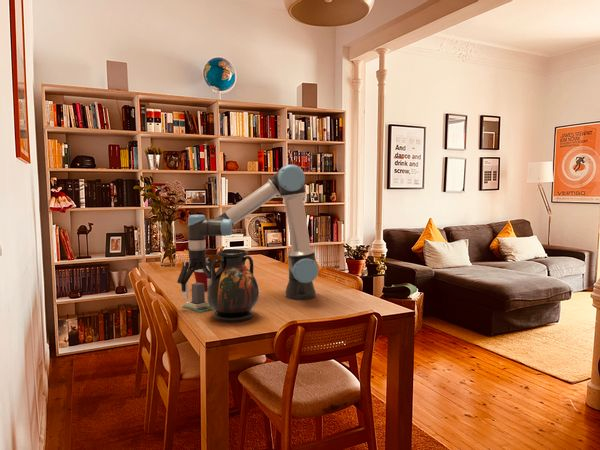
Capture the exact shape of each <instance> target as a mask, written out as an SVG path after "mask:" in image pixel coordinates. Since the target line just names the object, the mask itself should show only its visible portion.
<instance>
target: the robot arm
mask: <svg viewBox="0 0 600 450" xmlns="http://www.w3.org/2000/svg"><path fill="white" fill-rule="evenodd" d="M305 182H306V175H305V172H304V171H303V169H302V168H301V167H300V166H298V165H296V164H287V165H284V166H282V167H281V168H279V170H278V171H277V172H276V173H274V174H273V175H272V176H271V177H270V178H268V180H267V181H266V183H264V184H263V185H262V186H260V187H259V188H257V189H256V190H255V191H253V192H251V193H250V194H249V195H247V196H246V197H245V198H243V199H242V200H240V201H238V202H237V203H236V204H234V205H233V206H232V207H230V208H229V209H227V210H226V211H225V212H223V213H222V214H220V215H218V216H216V218H214V219H211V218H206V216H205V215H204V214H190V215H188V217H187V235H188V237H187V239H188V240H187V241H188V243H187V244H188V249H189V250H188V258H189V261H183V262H182V268H181V271H180V272H179V276H178V278H177V283H178V284H180V286H181V287H180V289H181V292H182V298H183V299H185V300H188V299H189V284H187V283H188V281H189V279H190V278H191V276H192V275H193V274H194V271H195V270H199V269H200V270H201V269H202V270H203V271H204V272H205V274H206V275H207V276H208V277H209V278H208V279H207V286H208V285H209V282H210V279H211V266H212V263H213V262H212V258H210V257H207V255H206V254H207V251H206V246H207V245H206V237H209V236H211V237H212V236H213V237H215V236H216V237H226V236H232V235H233V226H235V225H236V224H238V222H240V221H242V220H243V219H245V218H246V217H248V216H249V215H250V214H252V213H253V212H254V211H256V210H258V209H259V208H260V207H262V206H264V205H265V204H266V203H268V202H269V201H271V200H272V199H274V197H276V196H280V198H282V199H284V205H285V212H286V217H287V226H288V230H289V231H288V232H289V238H290V245H291V250H290V251H289V252H288V257H287V258H288V282H287V285H286V289H285V293H284V296H285V297H286V298H287V299H292V300H311V299H313V298H315V297H316V296H317V294H316V293H317V291H316V289H315V286H314V282H313V281H314V280H315V279H316V278H317V277H318V275H319V265H318V263H317V261H316V252H315V250H314V249H313V248H311V247H312V246H311V243H310V242H311V241H310V235H309V228H308V220H307V215H306V207H305V201H304V200H305V199H304V195H305V194H306V193H307V192H306V186H305ZM206 266H208V268H209V270H210V271H209V270H208V269H207V267H206Z"/></svg>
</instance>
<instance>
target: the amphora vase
mask: <svg viewBox="0 0 600 450" xmlns="http://www.w3.org/2000/svg"><path fill="white" fill-rule="evenodd" d="M216 255H217V256H218V257H220V258H221V259H220V258H219V259H218V258H217V259H214V260H213V261H212V262H211V263H212V266H211V279H210V282H209V285H208V289H207V291H206V294H207V295H206V297H207V298H206V299H207V301H208V302H209V304H210V306H211V307H212V308H213V309H212V310H213V311H215V312H213V317H214V320H216V321H220V322H223V323H239V322H240V323H242V322H244V321H248V320H249V319H251V318H252V317H253V315H254V311H253V308H255V306H256V305H257V303H258V300H259V298H260V290H259V283H258V281H257V278H256V277H255V275H254V260H253V258H252V256H249V251H248V250H246V249H237V248H235V249H234V248H233V249H224V250H219V251H218V252H217V251H216ZM247 260H248V263H249V268H248V267H247V266H246V265H245V263H246V261H247ZM218 263H219V264H220V266H219V268H217V270H216V266H217V264H218Z"/></svg>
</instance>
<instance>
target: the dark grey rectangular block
mask: <svg viewBox="0 0 600 450" xmlns="http://www.w3.org/2000/svg"><path fill="white" fill-rule="evenodd" d="M205 292H206V291H205V290H204V284H203V283H196V282H195V283H191V298H192V303H193V304H201V303H205V301H206V298H205V297H206V296H205V295H206V294H205Z"/></svg>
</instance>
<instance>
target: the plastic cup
mask: <svg viewBox="0 0 600 450" xmlns="http://www.w3.org/2000/svg"><path fill="white" fill-rule="evenodd" d="M205 266H206V267H207V269H208V270H209V268H208V266H207V265H205ZM209 271H210V270H209ZM193 275H194V279H195V283H203V284H204V290H205V292H207V289H208V286H207V279H208V278H209V277H208V276H207V275H206V274H205V272H204V271H203V270H202V269H201V270H200V269H199V270H195V271H194V272H193Z"/></svg>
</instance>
